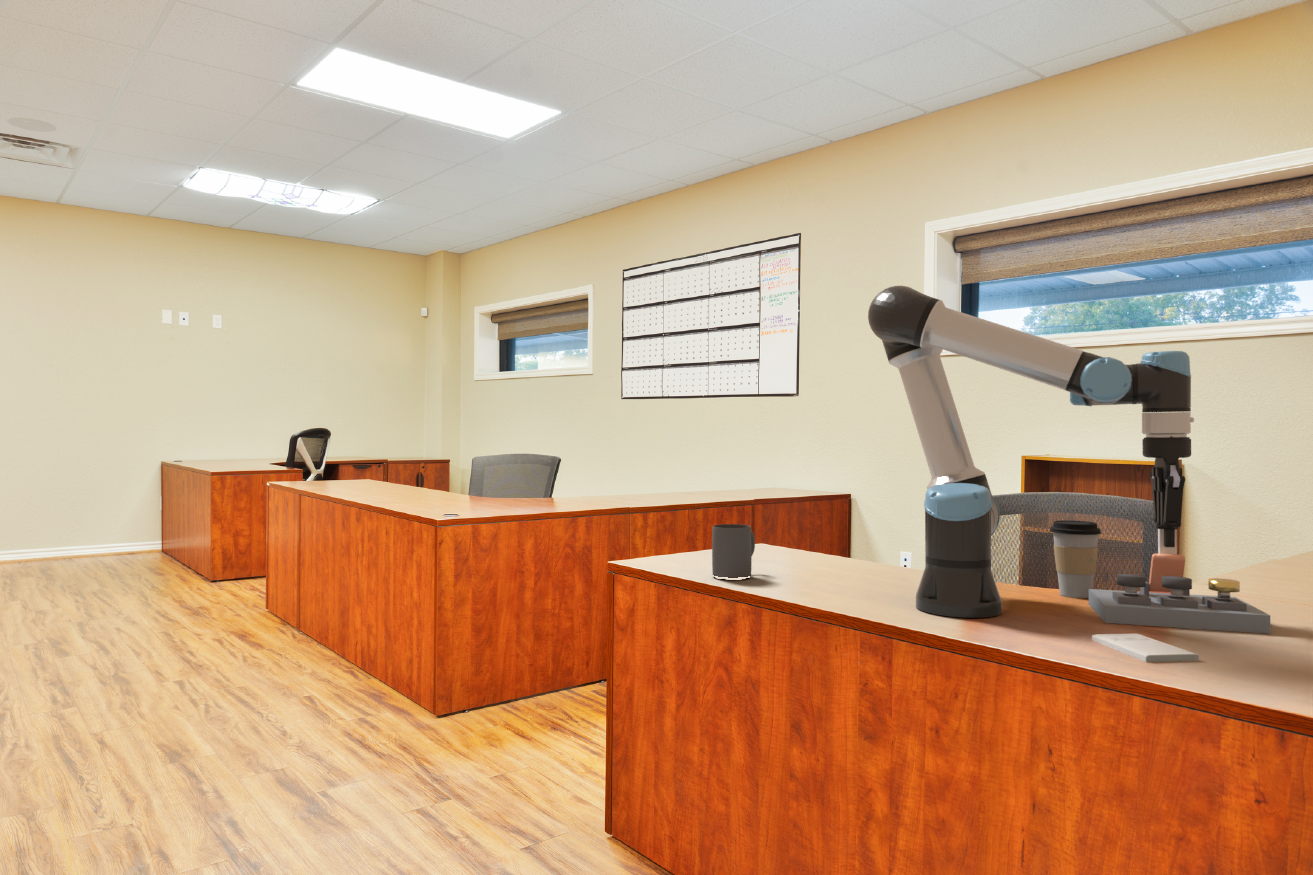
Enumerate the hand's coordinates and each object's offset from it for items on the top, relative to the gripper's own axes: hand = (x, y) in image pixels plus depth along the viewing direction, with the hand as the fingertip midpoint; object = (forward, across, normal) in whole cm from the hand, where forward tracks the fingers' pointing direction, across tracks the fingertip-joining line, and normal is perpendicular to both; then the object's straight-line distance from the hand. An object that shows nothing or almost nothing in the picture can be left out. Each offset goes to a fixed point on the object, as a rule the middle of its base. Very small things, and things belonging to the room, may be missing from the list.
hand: (1167, 563), depth 145 cm
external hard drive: (+9, -30, +11) cm, 33 cm away
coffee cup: (+10, +13, +13) cm, 21 cm away
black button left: (+4, -7, +7) cm, 11 cm away
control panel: (+9, -4, 0) cm, 10 cm away
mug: (+9, +13, +84) cm, 86 cm away
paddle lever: (+5, +1, 0) cm, 5 cm away
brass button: (+4, -7, -7) cm, 11 cm away
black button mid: (+4, -7, 0) cm, 8 cm away
